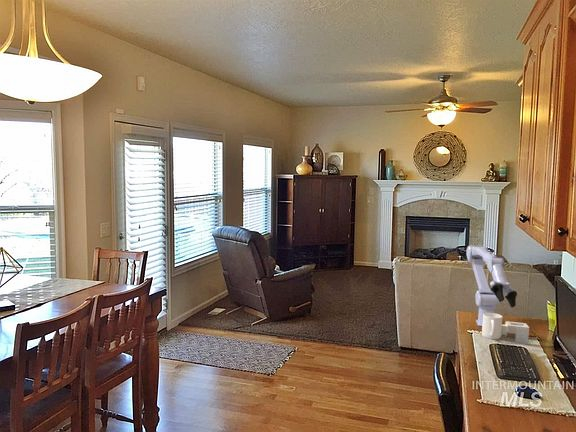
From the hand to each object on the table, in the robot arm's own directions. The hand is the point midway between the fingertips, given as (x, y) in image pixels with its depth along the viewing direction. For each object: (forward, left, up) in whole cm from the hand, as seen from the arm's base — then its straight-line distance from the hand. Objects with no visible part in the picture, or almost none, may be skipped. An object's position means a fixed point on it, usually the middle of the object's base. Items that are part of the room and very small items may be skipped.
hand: (507, 303), depth 214 cm
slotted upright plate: (-10, +2, -17) cm, 20 cm away
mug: (-2, -5, -18) cm, 19 cm away
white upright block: (+1, +7, -17) cm, 19 cm away
